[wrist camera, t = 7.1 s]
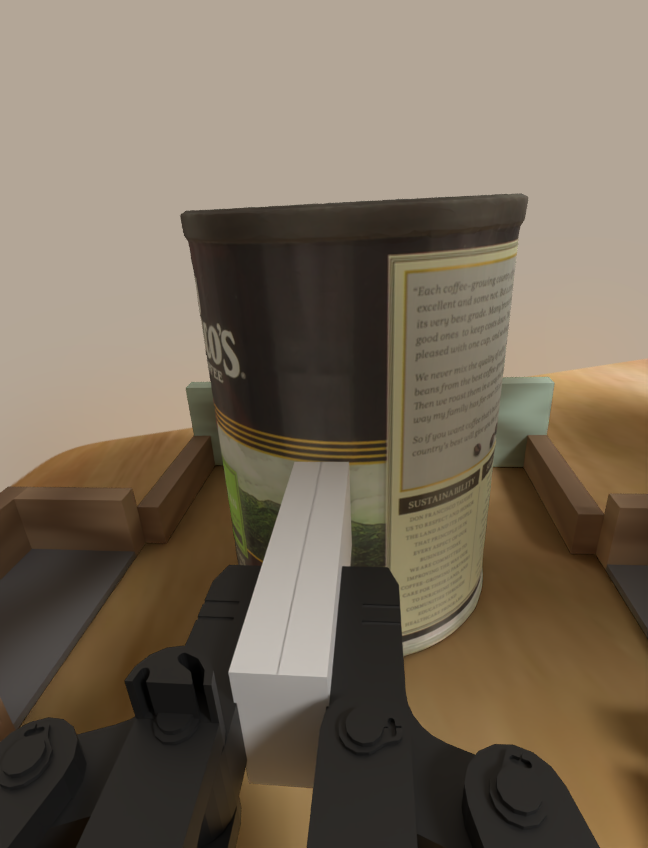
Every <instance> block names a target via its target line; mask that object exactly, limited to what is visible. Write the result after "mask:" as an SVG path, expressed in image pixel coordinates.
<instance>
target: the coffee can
mask: <svg viewBox="0 0 648 848" xmlns="http://www.w3.org/2000/svg"><path fill="white" fill-rule="evenodd" d="M527 203H528V197H527V196H525V195H523V194H499V195H481V196H461V197H438V198H421V199H396V200H382V201H360V202H343V203H326V204H304V205H290V206H269V207H248V208H234V209H214V210H199V211H194V210H192V211H185V212H184V213H183V214H181V223H182V228H183V233H184V236H185V237H186V239H187V240H188V242H189V247H190V253H191V260H192V264H193V269H194V276H195V282H196V289H197V296H198V305H199V310H200V316H201V321H202V328H203V335H204V341H205V349H206V355H207V361H208V368H209V374H210V381H211V389H212V394H213V401H214V407H215V414H216V423H217V428H218V433H219V440H220V446H221V453H222V459H223V466H224V473H225V480H226V486H227V492H228V499H229V506H230V512H231V520H232V525H233V534H234V539H235V545H236V553H237V559H238V565H255V566H262V564H263V561H264V557H265V554H266V551H267V548H268V545H269V542H270V538H271V535H272V532H273V529H274V526H275V522H276V519H277V516H278V513H279V510H280V507H281V503H282V500H283V497H284V494H285V491H286V488H287V484H288V481H289V478H290V475H291V472H292V468H293V465H294V462H349V475H350V504H351V533H352V550H351V564H350V566H355V567H388V568H389V569H390V571H391V573H392V574H393V576H394V578H395V579H396V581H397V582H398V584H399V593H400V609H401V626H402V642H403V656H406V655H409V654H412V653H415V652H419V651H421V650H423V649H426V648H428V647H430V646H432V645H434V644H436V643H438V642H440V641H442V640H443V639H444V638H446V637H447V636H449V635H450V634H452V633H453V632H454V631H455V630H456V629H458V628H459V627H460V626H461V625H462V624H463V623H464V622H465V620H466V619H467V618H468V617H469V616H470V614H471V613H472V612H473V611H474V609H475V607H476V604H477V602H478V599H479V596H480V593H481V589H482V582H483V570H482V564H483V550H484V542H485V533H486V525H487V515H488V506H489V498H490V488H491V478H492V469H493V460H494V451H495V446H496V434H497V425H498V415H499V406H500V397H501V388H502V379H503V371H504V362H505V353H506V344H507V336H508V326H509V318H510V309H511V300H512V291H513V281H514V271H515V263H516V255H517V247H518V235H519V230H520V226H521V224H522V223H523V221H524V219H525V215H526V209H527Z"/></svg>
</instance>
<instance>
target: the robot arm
mask: <svg viewBox="0 0 648 848" xmlns="http://www.w3.org/2000/svg"><path fill="white" fill-rule="evenodd" d="M351 550H352V533H351V504H350V475H349V462H294V465H293V468H292V472H291V475H290V478H289V481H288V484H287V488H286V491H285V494H284V497H283V500H282V503H281V507H280V510H279V513H278V516H277V519H276V522H275V526H274V529H273V532H272V535H271V538H270V542H269V545H268V548H267V551H266V554H265V557H264V561H263V564H262V566H255V565H228V566H227V567H226V568H225V569H224V570H223V571H222V572H221V573H220V574H219V575H218V577H217V578H216V579H215V580H214V581H213V582H212V585H211V587H210V589H209V591H208V594H207V596H206V598H205V603H204V604H203V605H202V608H201V610H200V612H199V615H198V620H196V622H195V624H194V626H193V629H192V631H191V633H190V635H189V638H188V640H187V642H186V645H185V646H177V647H169V648H165V649H163V650H160V651H158V652H156V653H153V654H151V655H149V656H148V657H147V658H145V659H144V660H143V661H141V662H140V663H139V664H138V665H136V666H135V667H134V669H133V670H132V671H131V673H130V674H129V675H128V677H127V678H126V679H125V685H126V688H127V691H128V694H129V697H130V701H131V704H132V707H133V710H134V713H135V717H134V718H132V719H130V720H127V721H124V722H122V723H119V724H116V725H112V726H108V727H105V728H101V729H97V730H93V731H89V732H85V733H82V734H78V735H77V734H76V732H75V729H74V727H73V726H72V725H70V724H69V723H68V722H66V721H65V720H64V719H57V718H44V719H41V720H37V721H33V722H30V723H28V724H26V725H24V726H22V727H20V728H19V729H17V730H15V731H13V732H11V733H10V734H9V735H8V736H7V737H5V738H4V739H3V740H2V741H1V742H0V848H236V843H237V838H238V834H239V829H240V825H241V803H240V798H239V794H240V790H241V785H242V781H243V777H244V772H245V768H246V770H247V775H248V780H249V783H252V784H265V785H278V786H291V787H304V788H313V795H312V804H311V814H310V823H309V832H308V841H307V848H600V847H599V845H598V843H597V841H596V840H595V838H594V836H593V834H592V832H591V831H590V829H589V827H588V825H587V823H586V822H585V820H584V818H583V816H582V814H581V812H580V811H579V809H578V807H577V805H576V803H575V802H574V800H573V798H572V796H571V794H570V793H569V791H568V789H567V787H566V786H565V784H564V783H563V782H562V780H561V779H560V778H559V776H558V775H557V774H556V772H555V771H554V770H553V768H552V767H551V766H550V765H549V764H547V763H546V762H545V761H543V760H542V759H541V758H539V757H538V756H537V755H536V754H534V753H533V752H531V751H528V750H525V749H523V748H520V747H518V746H515V745H503V744H494V745H491V746H489V747H487V748H484V749H482V750H480V751H478V752H477V754H476V755H474V754H472V753H470V752H467V751H465V750H462V749H460V748H457V747H455V746H452V745H450V744H447V743H445V742H443V741H441V740H440V739H438V738H436V737H434V736H433V735H431V734H430V733H429V732H428V731H427V730H425V729H424V728H423V727H422V726H421V725H420V723H419V722H418V721H417V720H416V718H415V717H414V716H413V714H412V711H411V709H410V707H409V705H408V702H407V697H406V691H405V674H404V658H403V642H402V626H401V609H400V593H399V584H398V582H397V581H396V579H395V578H394V576H393V574H392V573H391V571H390V569H389V568H388V567H355V566H350V564H351Z"/></svg>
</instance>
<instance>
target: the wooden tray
mask: <svg viewBox="0 0 648 848" xmlns="http://www.w3.org/2000/svg"><path fill="white" fill-rule="evenodd" d="M553 390H554V382H553V381H552V380H551V379H550V378H549V377H507V378H506V377H505V378H503V379H502V388H501V397H500V406H499V415H498V425H497V434H496V446H495V451H494V460H493V467H524V469H525V471H526V473H527V474H528V476H529V478H530V480H531V482H532V484H533V485H534V487H535V489H536V491H537V493H538V495H539V496H540V498H541V500H542V502H543V504H544V505H545V507H546V509H547V511H548V513H549V515H550V516H551V518H552V520H553V522H554V524H555V526H556V527H557V529H558V531H559V533H560V535H561V537H562V538H563V540H564V542H565V544H566V546H567V548H568V549H569V551H570V553H571V554H596V555H597V557H598V559H599V560H600V562H601V564H602V565H603V567H604V568H605V570H606V572H607V573H608V575H609V577H610V578H611V580H612V581H613V583H614V585H615V586H616V588H617V589H618V591H619V593H620V594H621V596H622V598H623V599H624V601H625V602H626V604H627V606H628V607H629V609H630V611H631V612H632V614H633V615H634V617H635V619H636V620H637V622H638V624H639V625H640V627H641V628H642V630H643V632H644V633H645V635H646V636H647V638H648V494H609V496H608V500H607V505H606V509H605V514H604V513H603V512H602V511H601V509H600V508H599V507H598V505H597V504H596V502H595V501H594V500H593V498H592V497H591V495H590V494H589V493H588V491H587V490H586V489H585V487H584V486H583V484H582V483H581V482H580V480H579V479H578V478H577V476H576V475H575V473H574V472H573V471H572V469H571V468H570V466H569V465H568V464H567V462H566V461H565V460H564V458H563V457H562V455H561V454H560V453H559V451H558V450H557V448H556V447H555V446H554V444H553V443H552V442H551V440H550V439H549V437H548V436H547V430H548V423H549V416H550V410H551V403H552V396H553ZM186 393H187V398H188V404H189V410H190V416H191V421H192V427H193V432H194V436H193V438H192V439H191V440H190V441H189V443H188V444H187V445H186V446H185V448H184V449H183V450H182V451H181V453H180V454H179V455H178V456H177V458H176V459H175V460H174V461H173V463H172V464H171V465H170V466H169V468H168V469H167V470H166V471H165V473H164V474H163V475H162V476H161V478H160V479H159V480H158V481H157V483H156V484H155V485H154V486H153V488H152V489H151V490H150V491H149V493H148V494H147V495H146V496H145V498H144V499H143V500H142V501H141V503H140V504H139V505H138V506H137V505H136V501H135V497H134V493H133V489H132V488H76V487H7V488H6V489H5V490H3V491H2V492H1V493H0V742H1V741H2V740H3V739H4V738H5V737H7V736H8V735H9V734H10V733H11V732H13V731H15V730H17V729H18V728H19V726H20V725H21V723H22V722H23V720H24V719H25V718H26V716H27V715H28V713H29V712H30V710H31V709H32V707H33V706H34V704H35V703H36V702H37V700H38V699H39V697H40V696H41V694H42V693H43V691H44V690H45V688H46V687H47V686H48V684H49V683H50V681H51V680H52V678H53V677H54V675H55V674H56V673H57V671H58V670H59V668H60V667H61V665H62V664H63V662H64V661H65V659H66V658H67V657H68V655H69V654H70V652H71V651H72V649H73V648H74V646H75V645H76V643H77V642H78V641H79V639H80V638H81V636H82V635H83V633H84V632H85V630H86V629H87V627H88V626H89V625H90V623H91V622H92V620H93V619H94V617H95V616H96V614H97V613H98V612H99V610H100V609H101V607H102V606H103V604H104V603H105V601H106V600H107V598H108V597H109V596H110V594H111V593H112V591H113V590H114V588H115V587H116V585H117V584H118V582H119V581H120V580H121V578H122V577H123V575H124V574H125V572H126V571H127V569H128V568H129V567H130V565H131V564H132V562H133V561H134V559H135V558H136V556H137V555H138V553H139V552H140V551H141V549H142V548H143V546H144V545H145V543H167V541H168V540H169V538H170V536H171V535H172V533H173V532H174V530H175V528H176V527H177V525H178V524H179V522H180V520H181V519H182V517H183V516H184V514H185V513H186V511H187V509H188V508H189V506H190V505H191V503H192V501H193V500H194V498H195V497H196V495H197V493H198V492H199V490H200V489H201V487H202V485H203V484H204V482H205V481H206V479H207V477H208V476H209V474H210V473H211V471H212V470H213V468H214V466H215V465H223V459H222V453H221V446H220V440H219V433H218V428H217V423H216V414H215V407H214V401H213V394H212V389H211V382H191V383H190V384H189V385H188V386H187V387H186Z"/></svg>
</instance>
